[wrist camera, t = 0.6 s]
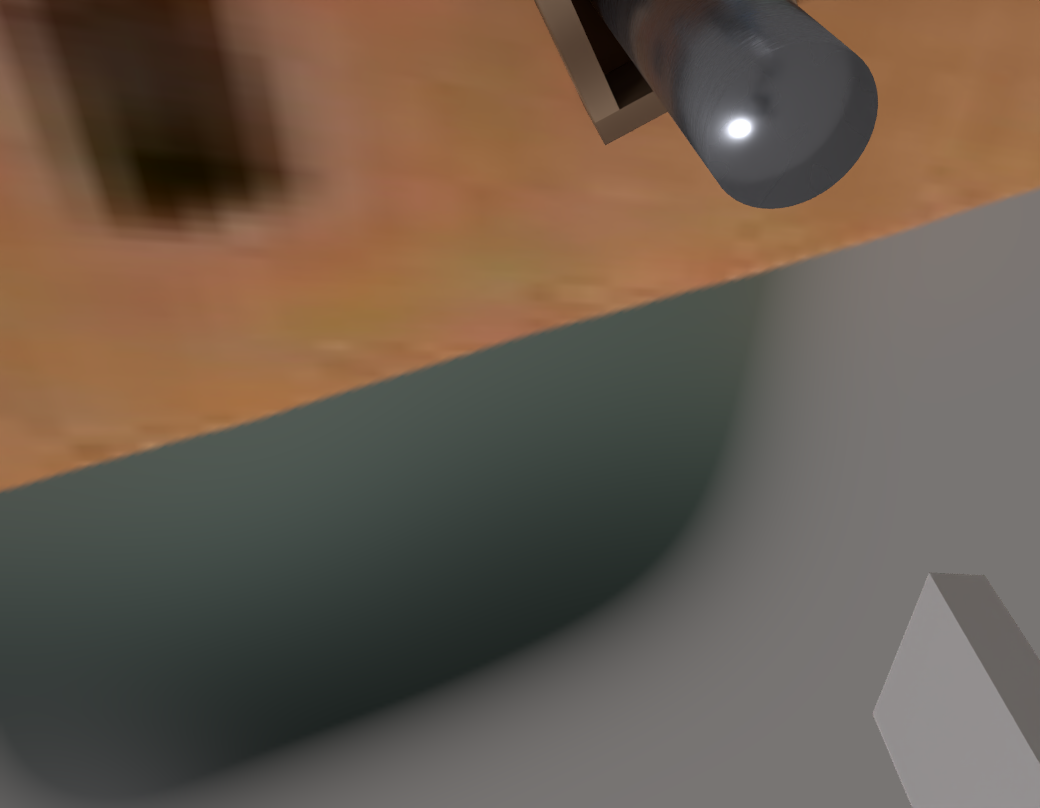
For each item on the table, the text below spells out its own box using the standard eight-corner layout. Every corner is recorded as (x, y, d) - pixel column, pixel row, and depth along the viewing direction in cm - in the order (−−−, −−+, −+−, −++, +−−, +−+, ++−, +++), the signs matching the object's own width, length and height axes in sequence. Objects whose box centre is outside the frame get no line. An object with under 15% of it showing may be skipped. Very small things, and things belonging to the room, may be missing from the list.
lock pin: (563, -60, 33) (684, 99, 23) (678, -127, 32) (857, 5, 22) (610, 49, 36) (737, 236, 25) (716, -10, 35) (892, 157, 25)
